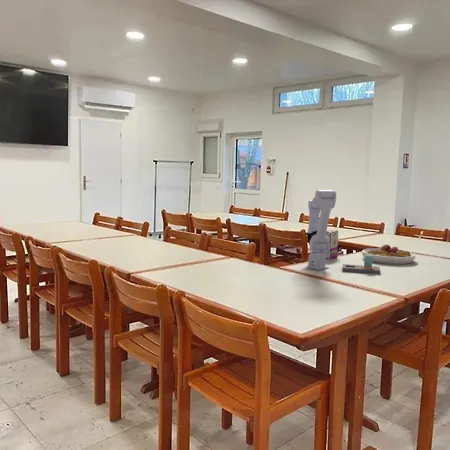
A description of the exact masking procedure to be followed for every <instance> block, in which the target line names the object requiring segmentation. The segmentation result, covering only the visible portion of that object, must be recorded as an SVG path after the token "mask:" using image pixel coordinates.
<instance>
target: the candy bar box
mask: <svg viewBox="0 0 450 450" xmlns="http://www.w3.org/2000/svg"><path fill="white" fill-rule="evenodd" d="M326 236H328V237H329V240H330V246H329V250H328V251H327V252H326V259H327V260H332V259H334V258H336V257H338V252H339V250H338V248H339V230H336V229H331V230H327V231H326Z"/></svg>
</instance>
